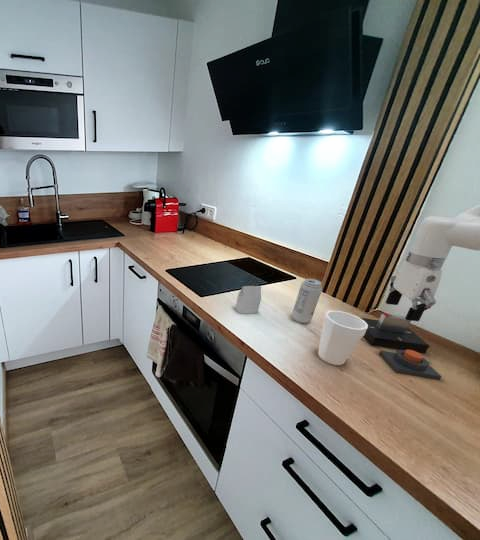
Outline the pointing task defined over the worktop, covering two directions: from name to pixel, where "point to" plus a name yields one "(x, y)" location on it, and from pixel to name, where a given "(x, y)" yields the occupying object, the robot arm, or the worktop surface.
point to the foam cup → (340, 336)
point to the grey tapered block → (249, 299)
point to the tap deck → (394, 338)
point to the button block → (409, 365)
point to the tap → (393, 323)
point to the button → (413, 356)
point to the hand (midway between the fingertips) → (401, 311)
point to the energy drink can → (307, 300)
